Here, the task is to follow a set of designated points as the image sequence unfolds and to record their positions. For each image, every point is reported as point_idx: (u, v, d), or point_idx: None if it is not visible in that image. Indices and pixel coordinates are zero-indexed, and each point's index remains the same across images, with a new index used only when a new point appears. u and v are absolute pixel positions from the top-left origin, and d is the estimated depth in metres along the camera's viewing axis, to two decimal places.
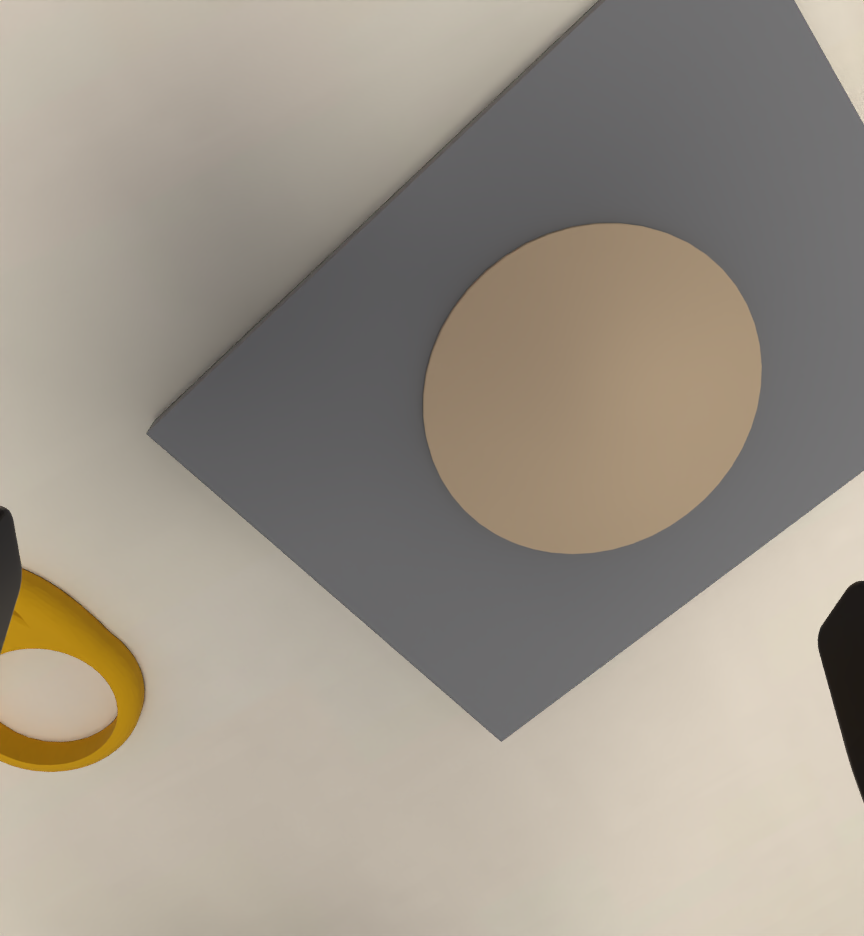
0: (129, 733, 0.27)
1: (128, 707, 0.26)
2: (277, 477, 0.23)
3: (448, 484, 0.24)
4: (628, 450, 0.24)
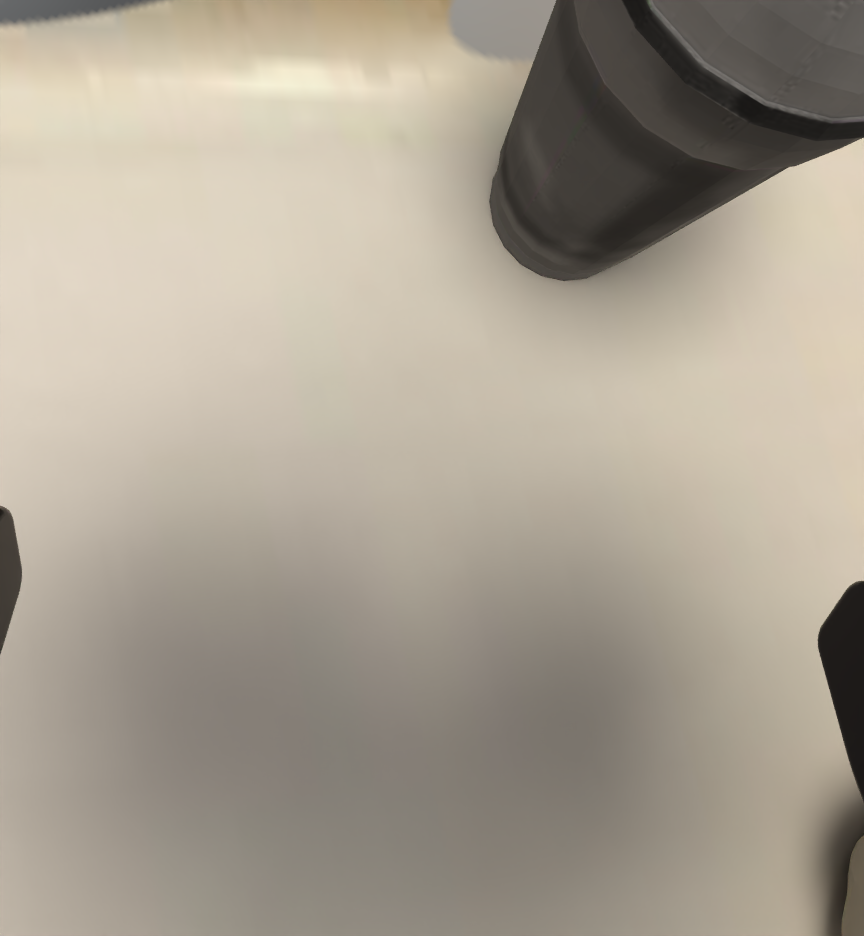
0: None
1: None
2: None
3: None
4: None
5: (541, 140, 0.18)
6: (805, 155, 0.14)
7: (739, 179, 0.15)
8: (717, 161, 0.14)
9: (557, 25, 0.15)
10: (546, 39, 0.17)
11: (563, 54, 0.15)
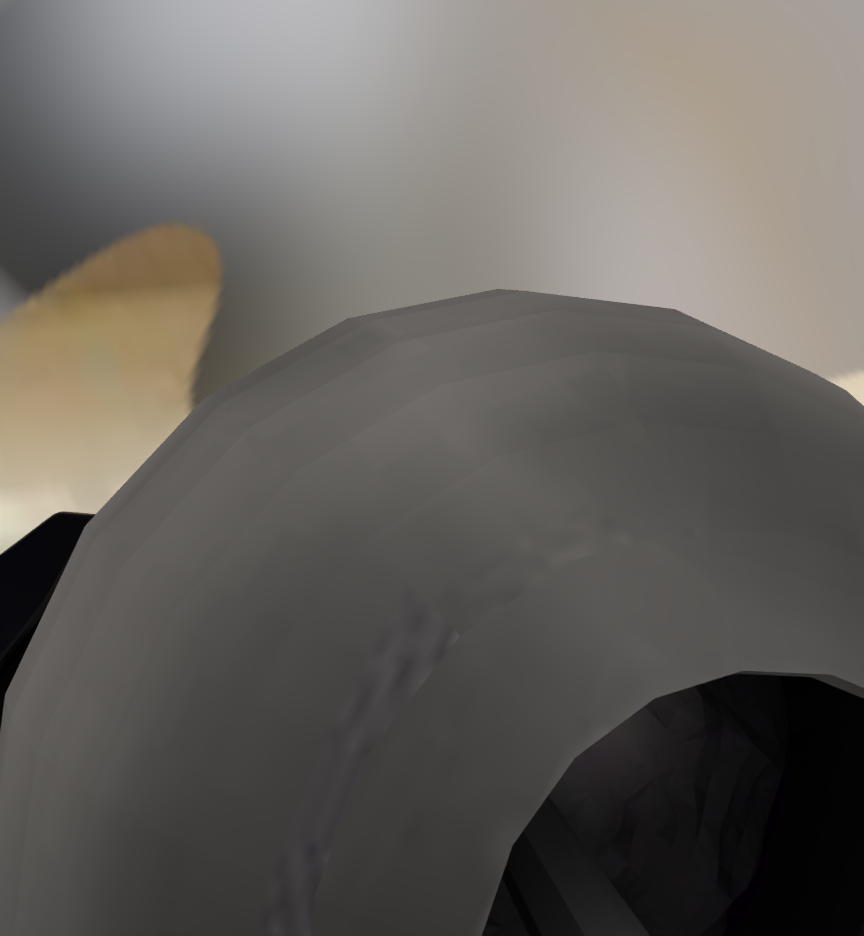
0: None
1: None
2: None
3: None
4: None
5: None
6: None
7: None
8: None
9: None
10: None
11: None
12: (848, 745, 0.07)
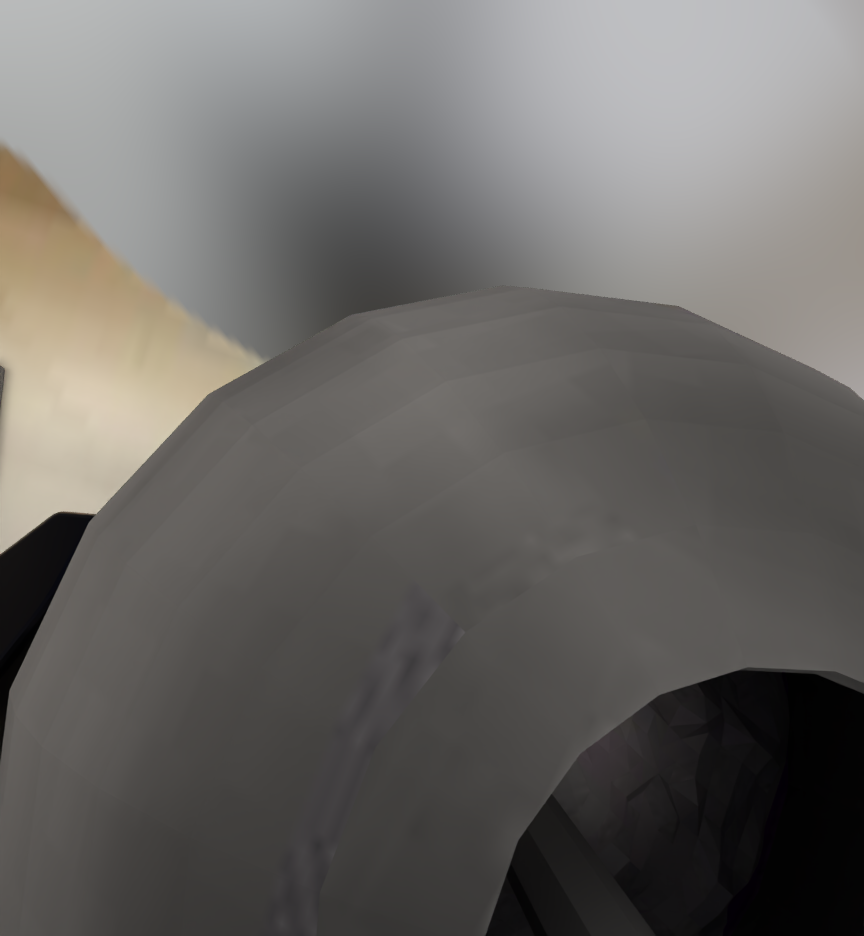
0: None
1: None
2: None
3: None
4: None
5: None
6: None
7: None
8: None
9: None
10: None
11: None
12: (851, 741, 0.07)
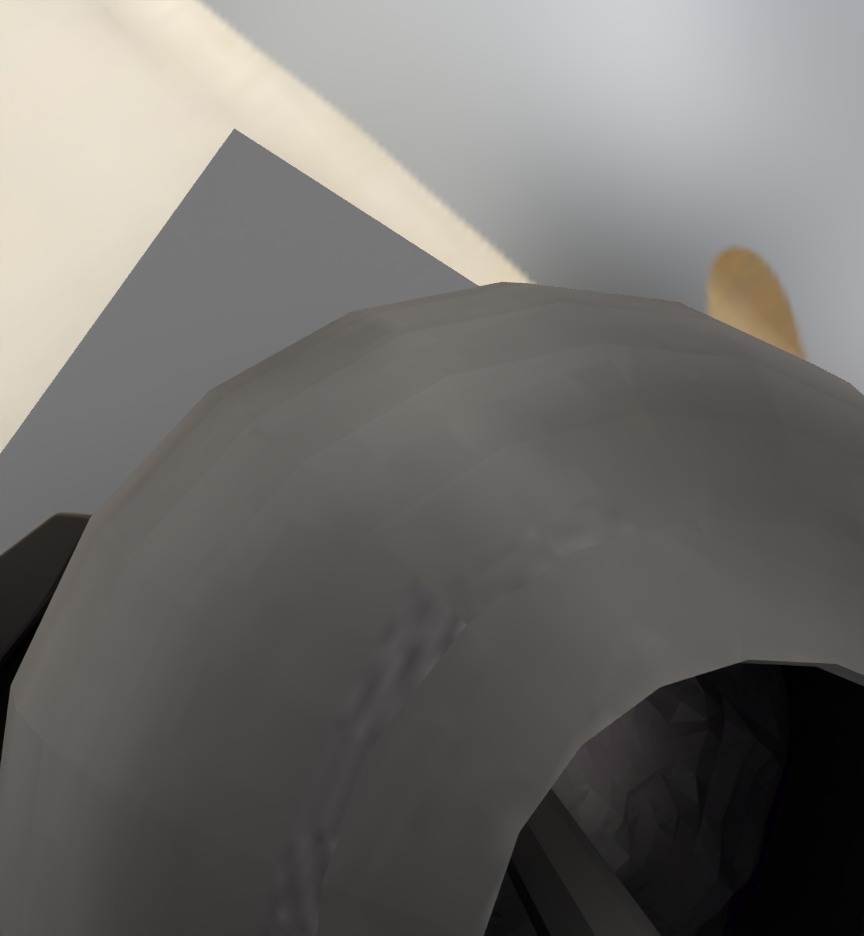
0: None
1: None
2: None
3: None
4: None
5: None
6: None
7: None
8: None
9: None
10: None
11: None
12: (851, 739, 0.07)
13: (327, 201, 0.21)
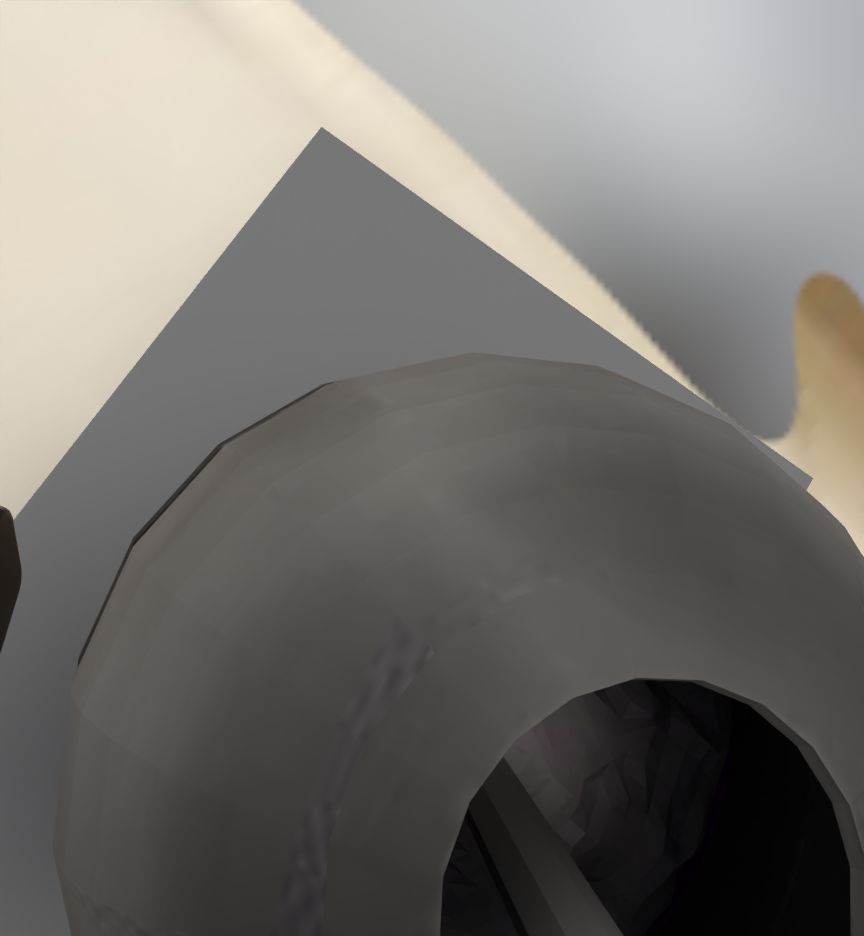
0: None
1: None
2: None
3: None
4: None
5: None
6: None
7: None
8: None
9: None
10: None
11: None
12: (782, 733, 0.08)
13: (413, 206, 0.21)
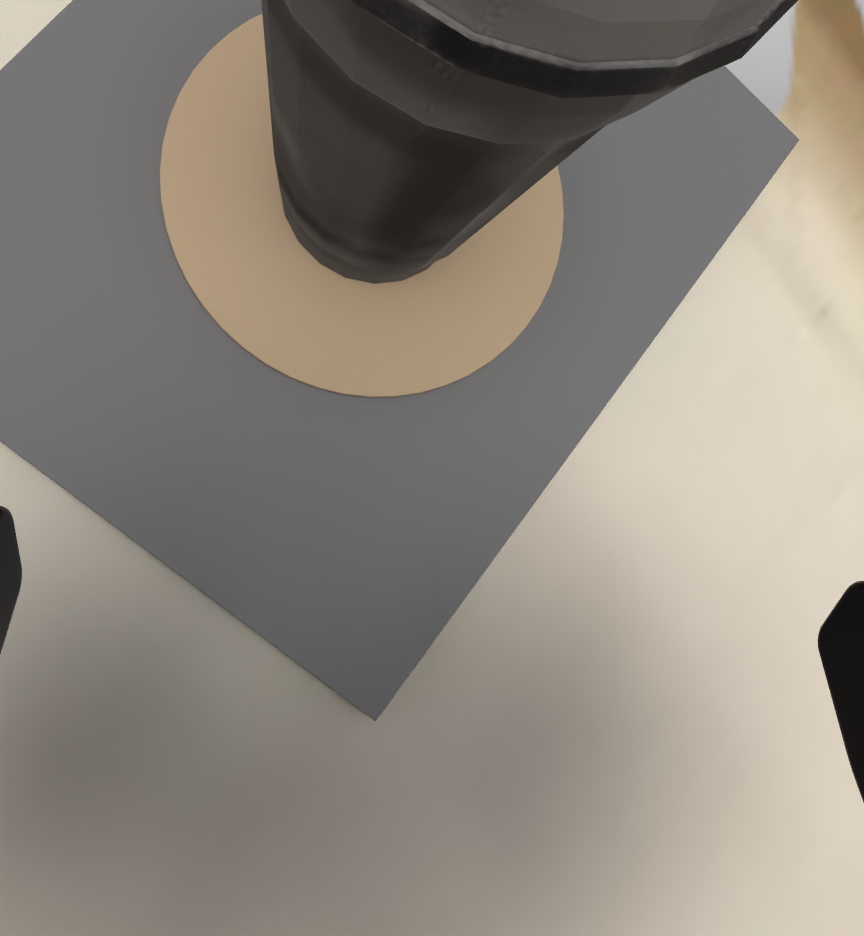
0: None
1: None
2: None
3: (214, 311, 0.19)
4: None
5: (280, 105, 0.13)
6: (574, 123, 0.10)
7: (513, 157, 0.11)
8: (460, 131, 0.10)
9: None
10: None
11: None
12: None
13: None
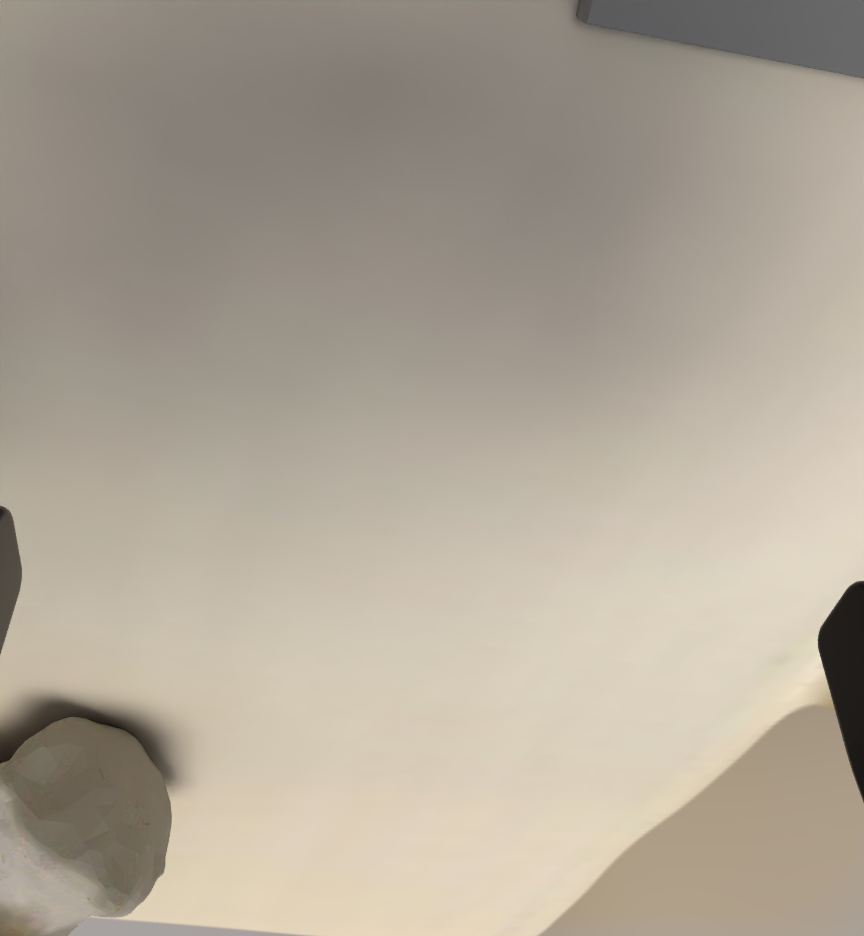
0: None
1: None
2: None
3: None
4: None
5: None
6: None
7: None
8: None
9: None
10: None
11: None
12: None
13: None
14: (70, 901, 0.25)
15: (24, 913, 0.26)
